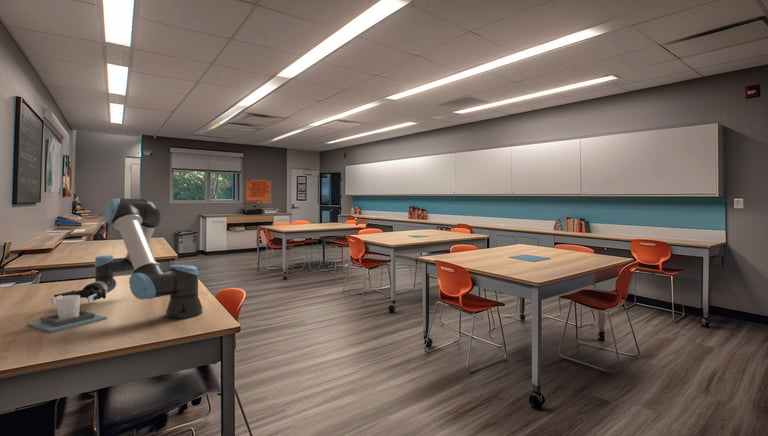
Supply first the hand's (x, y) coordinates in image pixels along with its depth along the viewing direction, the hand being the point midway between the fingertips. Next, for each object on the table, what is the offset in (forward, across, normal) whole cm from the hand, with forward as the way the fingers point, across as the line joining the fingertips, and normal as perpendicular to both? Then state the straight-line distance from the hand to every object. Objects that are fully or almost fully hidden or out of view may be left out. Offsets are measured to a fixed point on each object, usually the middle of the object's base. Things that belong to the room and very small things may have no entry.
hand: (70, 300), depth 164 cm
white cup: (+3, -1, -8) cm, 8 cm away
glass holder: (+3, 0, -9) cm, 9 cm away
